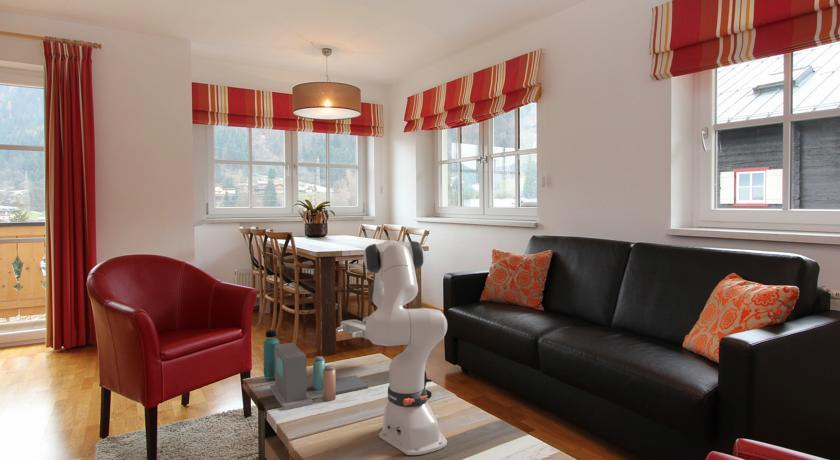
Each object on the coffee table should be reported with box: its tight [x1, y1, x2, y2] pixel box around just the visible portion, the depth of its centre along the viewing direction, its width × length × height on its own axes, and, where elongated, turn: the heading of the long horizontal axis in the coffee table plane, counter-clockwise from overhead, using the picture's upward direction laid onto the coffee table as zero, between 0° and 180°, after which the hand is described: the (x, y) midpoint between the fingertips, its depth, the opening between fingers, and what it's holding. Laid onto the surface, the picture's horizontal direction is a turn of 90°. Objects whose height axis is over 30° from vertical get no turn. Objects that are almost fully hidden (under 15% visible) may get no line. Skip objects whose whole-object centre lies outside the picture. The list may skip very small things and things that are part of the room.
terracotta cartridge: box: [322, 364, 337, 402], centre depth 182 cm, size 4×4×12 cm
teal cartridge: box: [312, 355, 326, 391], centre depth 192 cm, size 4×4×12 cm
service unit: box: [269, 342, 314, 411], centre depth 184 cm, size 22×10×18 cm, turn 29°
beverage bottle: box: [262, 329, 280, 379], centre depth 201 cm, size 6×7×20 cm
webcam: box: [424, 370, 433, 399], centre depth 185 cm, size 8×8×10 cm
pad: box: [336, 374, 369, 396], centre depth 195 cm, size 13×13×1 cm
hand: (344, 332), depth 200 cm, fingers open, 8 cm apart
